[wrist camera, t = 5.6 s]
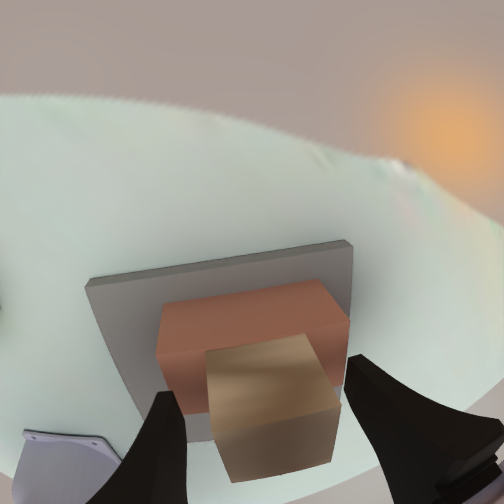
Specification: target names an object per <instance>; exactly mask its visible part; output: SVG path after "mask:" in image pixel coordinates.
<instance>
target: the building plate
mask: <svg viewBox="0 0 504 504" xmlns="http://www.w3.org/2000/svg"><path fill="white" fill-rule="evenodd" d="M352 264H353V246H352V245H351V244H350V243H348V242H347V241H346V240H341V241H334V242H328V243H321V244H315V245H308V246H302V247H296V248H289V249H283V250H276V251H270V252H263V253H257V254H250V255H244V256H237V257H231V258H224V259H218V260H211V261H205V262H198V263H192V264H185V265H179V266H172V267H166V268H159V269H153V270H146V271H139V272H133V273H126V274H120V275H113V276H107V277H100V278H93V279H90V280H89V281H88V283H87V284H86V286H85V287H84V288H85V291H86V294H87V297H88V299H89V302H90V305H91V308H92V310H93V313H94V315H95V318H96V321H97V323H98V326H99V328H100V331H101V333H102V335H103V338H104V340H105V343H106V345H107V347H108V349H109V352H110V354H111V356H112V358H113V361H114V363H115V365H116V367H117V369H118V371H119V373H120V376H121V378H122V380H123V382H124V384H125V386H126V388H127V390H128V392H129V394H130V395H131V397H132V399H133V401H134V403H135V405H136V407H137V409H138V410H139V412H140V414H141V416H142V418H143V419H144V421H145V419H146V417H147V415H148V413H149V410H150V408H151V406H152V403H153V401H154V398H155V396H156V394H157V392H160V391H169V389H168V386H167V384H166V381H165V379H164V376H163V373H162V371H161V368H160V366H159V363H158V360H157V358H156V355H155V354H156V347H157V340H158V334H159V327H160V321H161V315H162V309H163V304H164V303H171V302H178V301H185V300H192V299H199V298H205V297H212V296H218V295H225V294H231V293H237V292H244V291H250V290H256V289H262V288H268V287H273V286H279V285H285V284H291V283H296V282H302V281H307V280H313V279H319V281H320V282H321V283H322V284H323V286H324V287H325V288H326V290H327V291H328V292H329V293H330V295H331V296H332V297H333V299H334V300H335V301H336V303H337V304H338V305H339V306H340V308H341V309H342V310H343V312H344V313H345V314H346V316H347V317H348V318H349V315H350V301H351V285H352ZM341 388H342V385H340V386H336V387H333V389H334V391H335V393H336V395H337V397H338V399H339V401H340V395H341ZM183 417H184V419H185V425H186V435H187V443H191V442H201V441H210V440H214V438H213V435H212V432H211V422H210V412H207V413H199V414H190V415H183Z"/></svg>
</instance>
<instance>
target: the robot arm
mask: <svg viewBox="0 0 504 504" xmlns="http://www.w3.org/2000/svg"><path fill="white" fill-rule="evenodd" d="M344 392H345V394H346V397H347V400H348V402H349V405H350V407H351V409H352V411H353V413H354V415H355V417H356V418H357V420H358V422H359V424H360V425H361V427H362V429H363V431H364V432H365V434H366V436H367V438H368V439H369V441H370V443H371V445H372V447H373V449H374V451H375V453H376V455H377V457H378V460H379V462H380V465H381V467H382V469H383V472H384V475H385V478H386V480H387V483H388V486H389V489H390V492H391V495H392V498H393V501H394V504H504V460H503V461H502V462H501V463H500V464H499V465H497V463H496V462H495V461H497V459H498V457H497V456H496V455H495V452H496V451H497V450H498V449H499V447H500V446H501V445H502V444H503V443H504V425H503V424H502V423H501V421H500V420H499V419H495V418H488V417H482V416H477V415H473V414H469V413H465V412H461V411H458V410H455V409H452V408H450V407H447V406H444V405H442V404H439V403H437V402H435V401H433V400H431V399H428V398H426V397H424V396H422V395H420V394H419V393H417V392H415V391H413V390H412V389H410V388H408V387H407V386H405V385H404V384H402V383H401V382H399V381H398V380H396V379H395V378H393V377H392V376H390V375H389V374H387V373H386V372H385V371H383V370H382V369H381V368H379V367H378V366H377V365H375V364H374V363H373V362H371V361H370V360H369V359H367V358H366V357H365V356H363V355H362V354H359V355H355V356H352V357H348V361H347V369H346V377H345V384H344ZM22 435H23V437H24V438H25V439H26V442H25V445H24V448H23V451H22V454H21V457H20V460H19V463H18V466H17V469H16V473H15V476H14V479H13V484H12V495H13V500H14V504H188V501H187V490H186V470H187V435H186V425H185V419H184V417H183V414H182V412H181V410H180V407H179V405H178V402H177V400H176V397H175V395H174V392H173V390H171V391H160V392H157V394H156V396H155V398H154V401H153V403H152V406H151V408H150V410H149V413H148V415H147V417H146V419H145V421H144V423H143V425H142V427H141V429H140V431H139V433H138V435H137V437H136V439H135V441H134V442H133V444H132V446H131V448H130V449H129V451H128V453H127V454H126V456H125V457H124V459H123V460H122V461H121V460H120V459H119V458H118V457H117V455H116V454H115V453H114V452H113V450H112V449H111V448H110V447H109V445H108V444H107V443H106V441H105V440H104V439H102V438H94V437H76V436H63V435H53V434H44V433H36V432H29V431H23V432H22Z"/></svg>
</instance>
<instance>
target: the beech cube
mask: <svg viewBox="0 0 504 504" xmlns="http://www.w3.org/2000/svg"><path fill="white" fill-rule="evenodd" d="M205 357H206V372H207V386H208V399H209V411H210V422H211V432H212V435H213V438H214V440H215V443H216V446H217V448H218V451H219V453H220V456H221V458H222V461H223V463H224V466H225V468H226V471H227V473H228V476H229V478H230V480H231V483H236V482H243V481H250V480H256V479H261V478H267V477H272V476H277V475H282V474H286V473H291V472H295V471H299V470H303V469H307V468H311V467H315V466H318V465H322V464H326V463H329V462H331V459H332V454H333V450H334V445H335V440H336V434H337V429H338V424H339V418H340V412H341V406H342V405H341V403H340V401H339V399H338V397H337V395H336V393H335V391H334V389H333V387H332V385H331V383H330V381H329V379H328V377H327V375H326V373H325V371H324V369H323V368H322V366H321V364H320V362H319V360H318V358H317V356H316V354H315V352H314V350H313V348H312V346H311V344H310V342H309V340H308V338H307V336H306V334H305V333H302V334H297V335H292V336H287V337H282V338H277V339H272V340H266V341H261V342H256V343H250V344H244V345H238V346H232V347H226V348H220V349H213V350H206V351H205Z"/></svg>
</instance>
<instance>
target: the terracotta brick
mask: <svg viewBox="0 0 504 504" xmlns="http://www.w3.org/2000/svg"><path fill="white" fill-rule="evenodd" d="M349 326H350V320H349V318H348V317H347V316H346V314H345V313H344V312H343V310H342V309H341V308H340V306H339V305H338V304H337V303H336V301H335V300H334V299H333V297H332V296H331V295H330V293H329V292H328V291H327V290H326V288H325V287H324V286H323V284H322V283H321V282H320V281H319V279H313V280H307V281H302V282H296V283H291V284H285V285H279V286H273V287H268V288H262V289H256V290H250V291H244V292H237V293H231V294H225V295H218V296H212V297H205V298H199V299H192V300H185V301H178V302H171V303H164V304H163V309H162V315H161V321H160V327H159V334H158V340H157V347H156V354H155V355H156V358H157V360H158V363H159V366H160V368H161V371H162V373H163V376H164V379H165V381H166V384H167V386H168V389H169V391H171V390H173V392H174V395H175V397H176V400H177V402H178V405H179V407H180V410H181V412H182V414H183V415H190V414H199V413H207V412H210V411H209V399H208V386H207V372H206V357H205V351H206V350H213V349H220V348H226V347H232V346H238V345H244V344H250V343H256V342H261V341H266V340H272V339H277V338H282V337H287V336H292V335H297V334H302V333H305V334H306V336H307V338H308V340H309V342H310V344H311V346H312V348H313V350H314V352H315V354H316V356H317V358H318V360H319V362H320V364H321V366H322V368H323V369H324V371H325V373H326V375H327V377H328V379H329V381H330V383H331V385H332V387H336V386H340V385H343V380H344V372H345V364H346V356H347V346H348V337H349Z"/></svg>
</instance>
